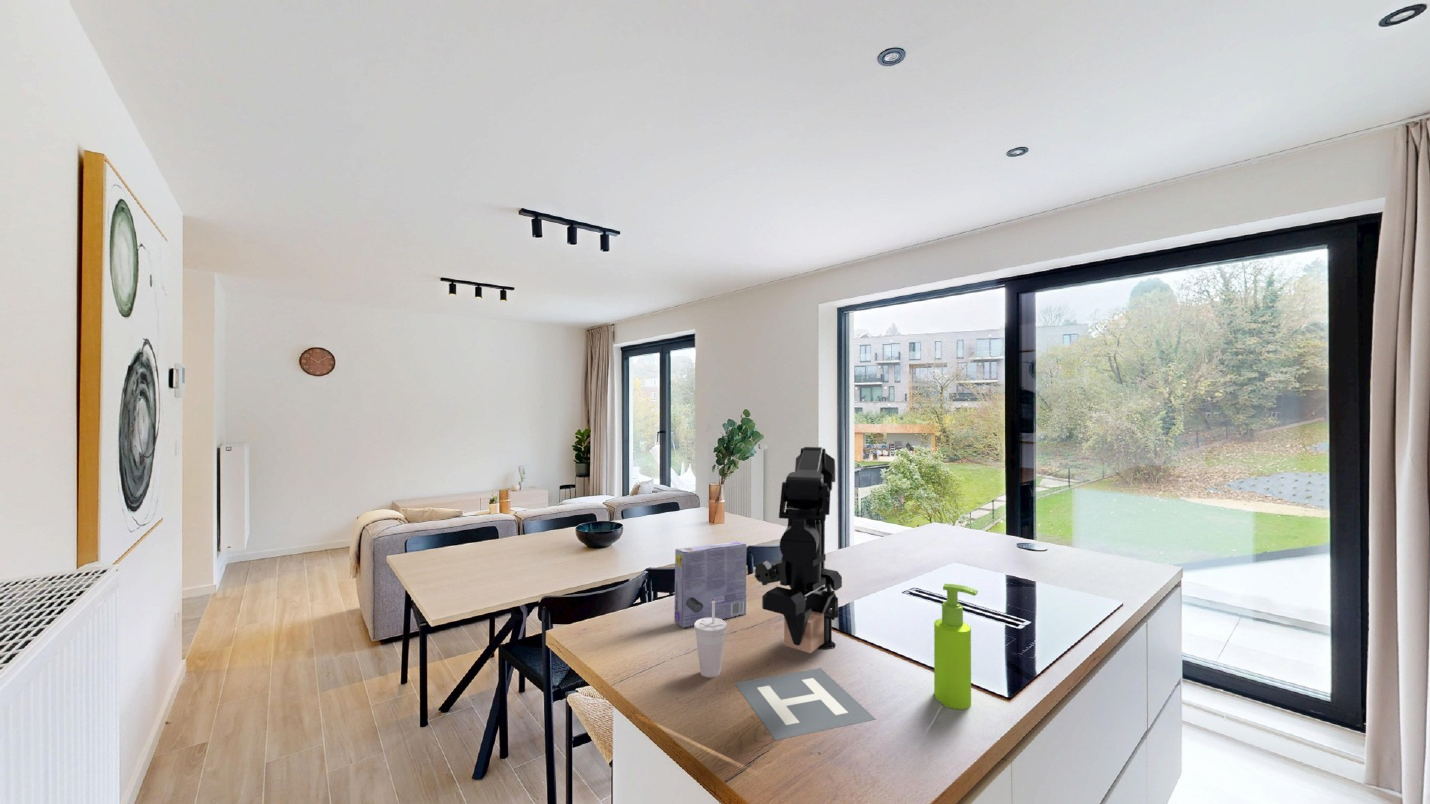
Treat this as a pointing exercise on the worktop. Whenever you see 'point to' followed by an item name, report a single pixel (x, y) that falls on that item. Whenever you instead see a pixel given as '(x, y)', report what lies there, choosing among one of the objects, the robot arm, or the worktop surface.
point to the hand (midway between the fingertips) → (804, 639)
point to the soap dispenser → (953, 652)
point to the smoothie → (710, 643)
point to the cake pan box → (710, 582)
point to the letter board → (801, 703)
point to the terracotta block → (808, 633)
